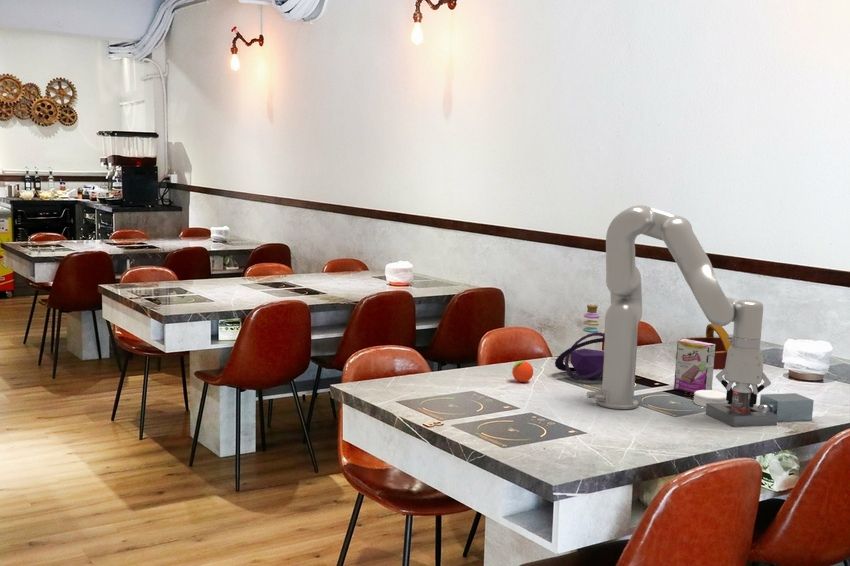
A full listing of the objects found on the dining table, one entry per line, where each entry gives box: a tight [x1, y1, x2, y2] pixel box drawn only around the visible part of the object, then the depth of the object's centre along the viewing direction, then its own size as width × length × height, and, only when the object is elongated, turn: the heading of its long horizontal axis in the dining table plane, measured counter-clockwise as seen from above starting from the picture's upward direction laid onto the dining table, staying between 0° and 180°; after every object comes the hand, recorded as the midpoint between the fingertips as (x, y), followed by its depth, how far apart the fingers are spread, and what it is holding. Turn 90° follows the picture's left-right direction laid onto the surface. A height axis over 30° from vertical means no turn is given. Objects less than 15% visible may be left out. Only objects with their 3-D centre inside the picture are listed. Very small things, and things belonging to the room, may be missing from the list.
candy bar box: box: [673, 338, 715, 394], centre depth 287 cm, size 11×5×16 cm, turn 47°
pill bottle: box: [731, 382, 753, 413], centre depth 256 cm, size 5×5×10 cm
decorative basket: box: [679, 323, 732, 370], centre depth 338 cm, size 34×29×15 cm
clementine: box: [511, 360, 534, 383], centre depth 293 cm, size 8×7×7 cm
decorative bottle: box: [554, 303, 605, 380], centre depth 302 cm, size 22×21×25 cm
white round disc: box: [693, 389, 728, 408], centre depth 273 cm, size 10×10×4 cm
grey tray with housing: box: [705, 392, 815, 428], centre depth 258 cm, size 28×14×6 cm, turn 105°
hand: (740, 404), depth 256 cm, fingers closed on pill bottle, 5 cm apart
